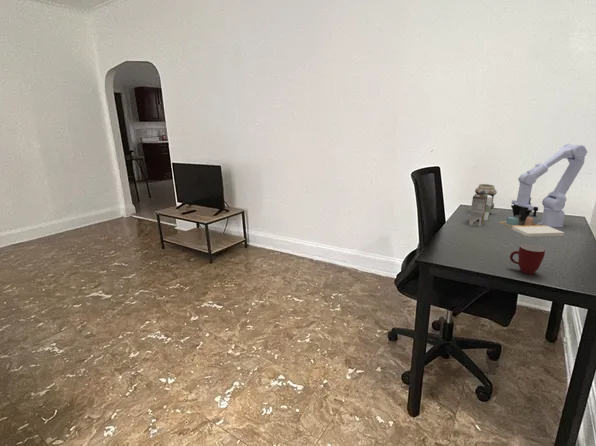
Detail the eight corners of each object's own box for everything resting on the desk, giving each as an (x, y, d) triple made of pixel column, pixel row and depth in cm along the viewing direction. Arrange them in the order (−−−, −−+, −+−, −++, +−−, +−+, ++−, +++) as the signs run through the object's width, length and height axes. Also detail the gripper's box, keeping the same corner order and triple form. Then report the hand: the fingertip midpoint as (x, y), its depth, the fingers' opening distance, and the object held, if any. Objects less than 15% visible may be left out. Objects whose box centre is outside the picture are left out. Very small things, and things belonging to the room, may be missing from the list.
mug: (507, 272, 132) (511, 247, 129) (508, 264, 138) (512, 241, 136) (540, 278, 127) (545, 253, 124) (539, 270, 133) (544, 246, 130)
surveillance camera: (542, 198, 200) (522, 197, 204) (538, 218, 203) (518, 216, 207) (540, 196, 204) (521, 195, 209) (536, 216, 208) (517, 214, 212)
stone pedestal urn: (497, 216, 208) (502, 186, 203) (477, 216, 208) (481, 187, 203) (486, 211, 220) (490, 183, 214) (467, 211, 220) (471, 183, 214)
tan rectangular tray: (527, 223, 195) (529, 212, 193) (538, 228, 187) (541, 217, 185) (498, 224, 194) (500, 213, 192) (509, 229, 185) (511, 218, 184)
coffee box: (471, 221, 198) (475, 193, 193) (483, 222, 195) (488, 195, 190) (468, 224, 191) (472, 196, 186) (481, 226, 187) (485, 198, 183)
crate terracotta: (526, 223, 192) (527, 216, 191) (531, 225, 189) (532, 218, 187) (519, 223, 192) (520, 216, 191) (524, 225, 188) (526, 218, 187)
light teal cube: (512, 223, 192) (514, 216, 191) (517, 225, 188) (519, 218, 187) (505, 223, 191) (507, 216, 190) (510, 225, 188) (512, 218, 186)
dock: (545, 229, 183) (546, 225, 183) (563, 236, 172) (564, 232, 171) (511, 229, 182) (512, 226, 181) (527, 237, 171) (528, 233, 170)
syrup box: (484, 218, 203) (488, 194, 199) (488, 221, 198) (492, 196, 194) (474, 218, 204) (478, 194, 200) (478, 220, 198) (482, 196, 194)
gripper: (508, 192, 192) (504, 216, 196) (526, 198, 178) (521, 223, 182) (520, 192, 193) (515, 215, 196) (539, 198, 179) (534, 223, 183)
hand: (519, 219), depth 189 cm, fingers open, 5 cm apart
